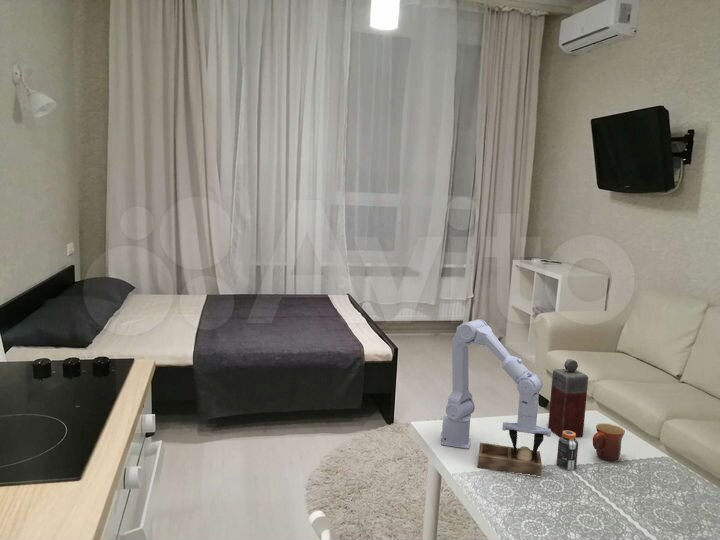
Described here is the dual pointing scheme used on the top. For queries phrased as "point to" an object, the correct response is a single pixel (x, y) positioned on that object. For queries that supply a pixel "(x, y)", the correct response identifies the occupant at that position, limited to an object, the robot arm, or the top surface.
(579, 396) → the red grey square bottle
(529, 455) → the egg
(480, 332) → the robot arm
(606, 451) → the mug
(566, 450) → the pill bottle
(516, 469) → the walnut holder
